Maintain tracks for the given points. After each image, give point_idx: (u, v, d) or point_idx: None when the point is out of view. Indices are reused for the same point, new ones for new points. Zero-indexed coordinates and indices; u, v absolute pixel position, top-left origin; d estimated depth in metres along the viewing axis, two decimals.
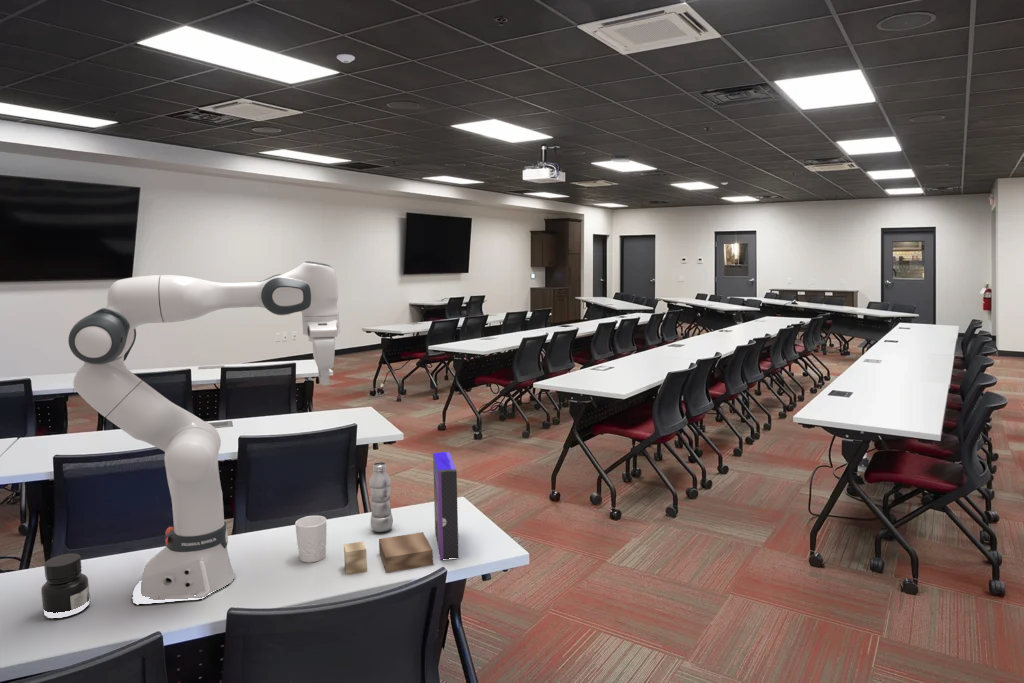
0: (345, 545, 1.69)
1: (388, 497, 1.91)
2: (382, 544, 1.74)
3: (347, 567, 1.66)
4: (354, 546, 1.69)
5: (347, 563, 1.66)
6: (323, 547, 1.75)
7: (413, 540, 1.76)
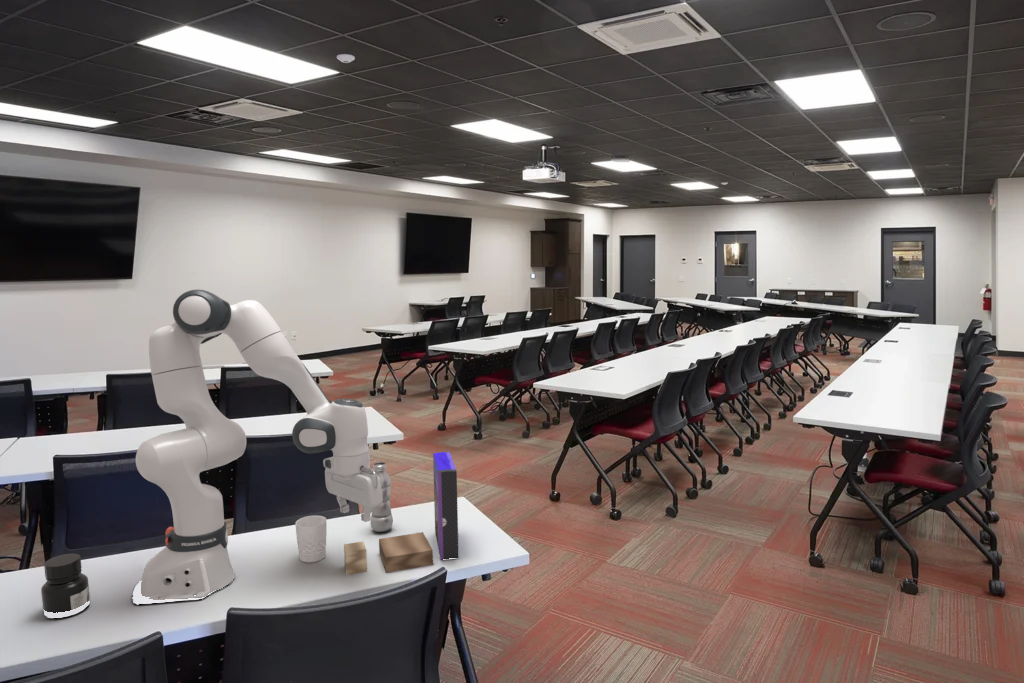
0: (345, 545, 1.69)
1: (388, 497, 1.91)
2: (382, 544, 1.74)
3: (347, 567, 1.66)
4: (354, 546, 1.69)
5: (347, 563, 1.66)
6: (323, 547, 1.75)
7: (413, 540, 1.76)
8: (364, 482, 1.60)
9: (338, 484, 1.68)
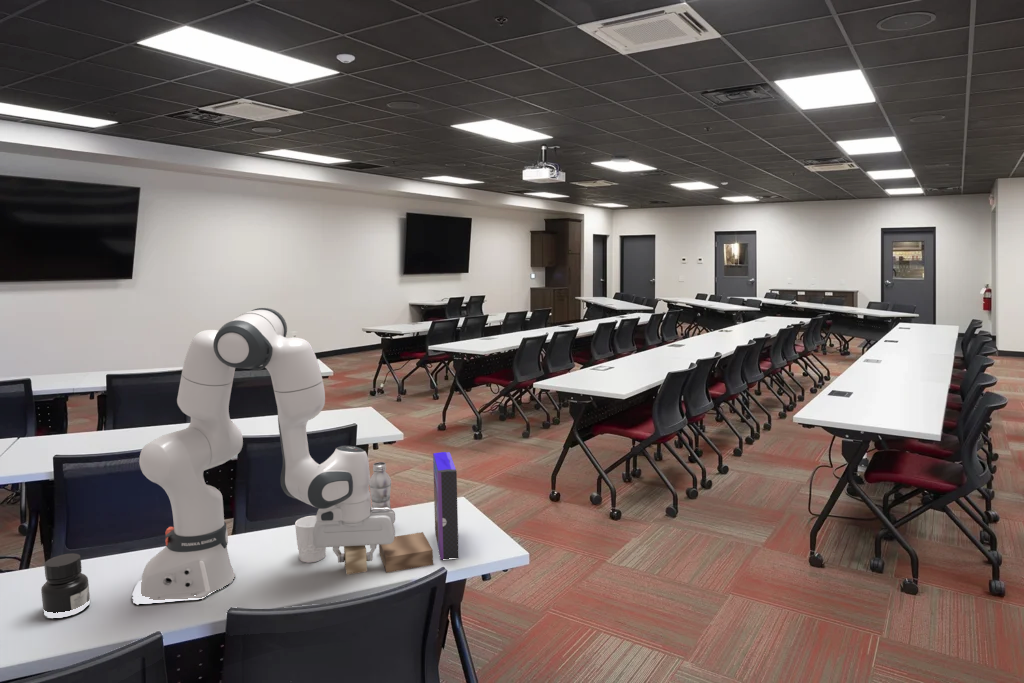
0: None
1: (388, 497, 1.91)
2: (382, 544, 1.74)
3: (347, 567, 1.66)
4: (354, 546, 1.69)
5: (347, 563, 1.66)
6: (323, 547, 1.75)
7: (413, 540, 1.76)
8: (383, 521, 1.66)
9: (336, 534, 1.66)
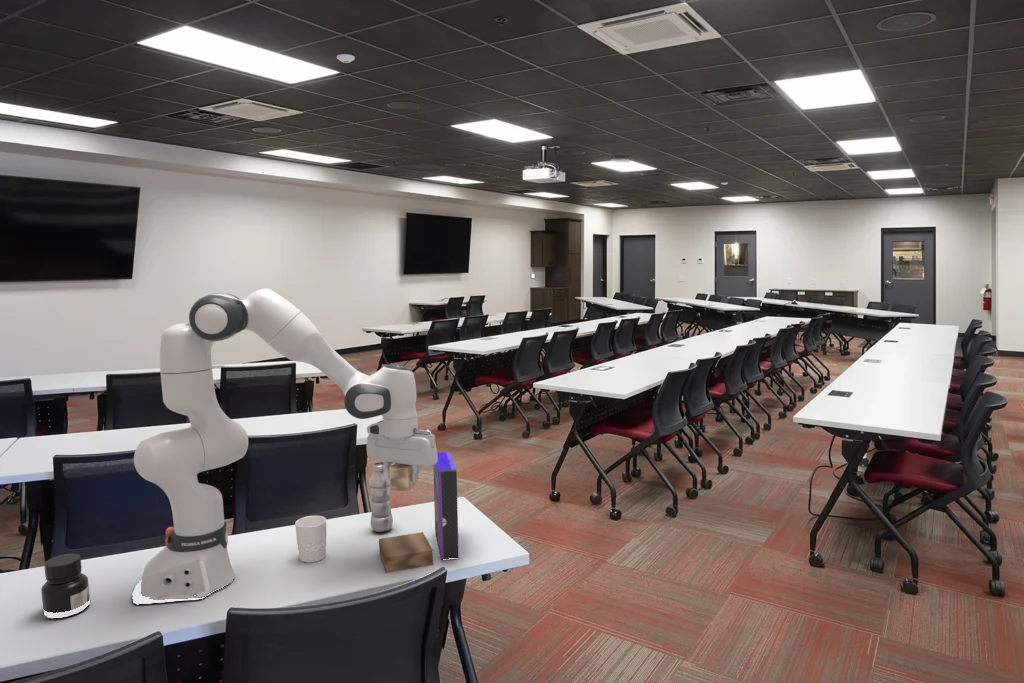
0: None
1: (388, 497, 1.91)
2: (382, 544, 1.74)
3: (391, 482, 1.70)
4: (401, 464, 1.71)
5: (390, 478, 1.70)
6: (323, 547, 1.75)
7: (413, 540, 1.76)
8: (421, 443, 1.65)
9: (384, 449, 1.71)
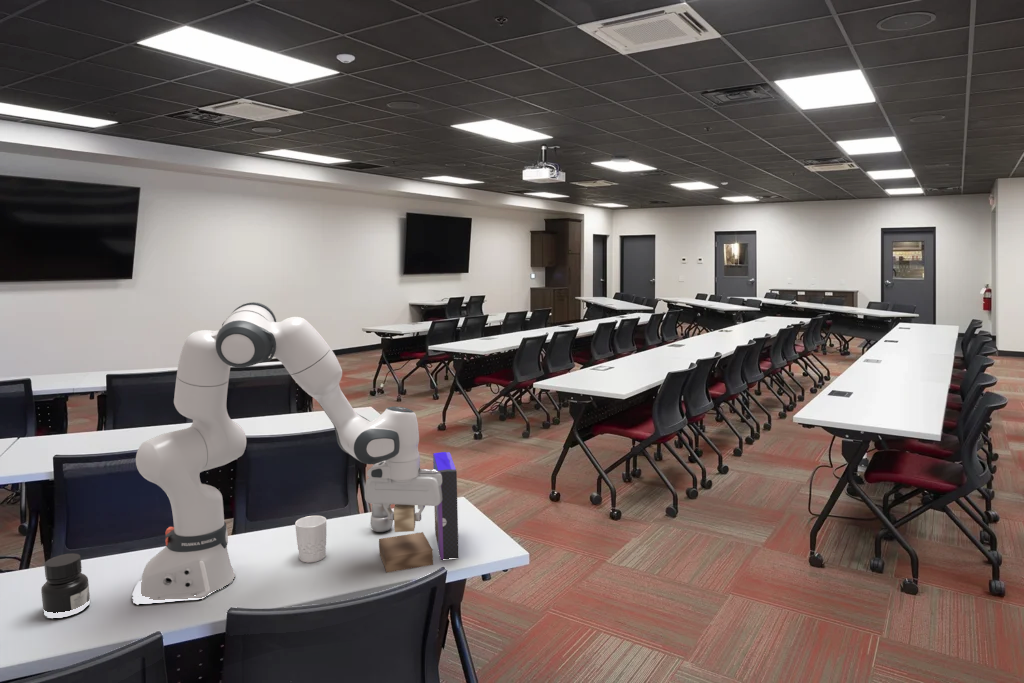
0: None
1: None
2: (382, 544, 1.74)
3: (395, 524, 1.70)
4: (403, 505, 1.72)
5: (395, 520, 1.70)
6: (323, 547, 1.75)
7: (413, 540, 1.76)
8: (430, 483, 1.69)
9: (385, 492, 1.71)
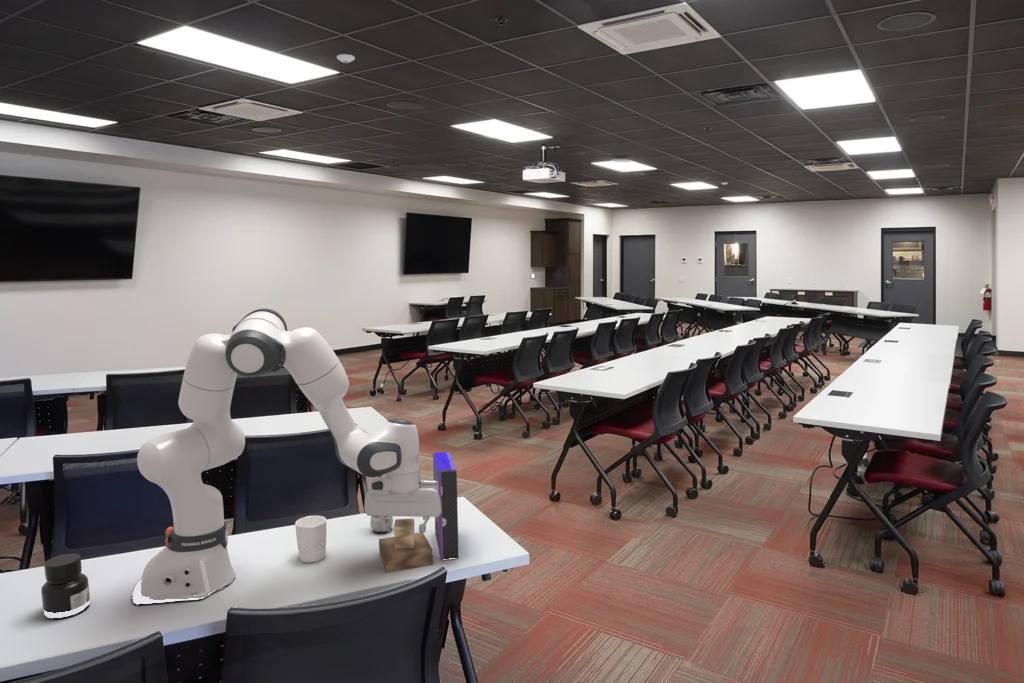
0: (396, 520, 1.74)
1: None
2: (382, 544, 1.74)
3: (395, 541, 1.71)
4: (403, 522, 1.73)
5: (395, 538, 1.71)
6: (323, 547, 1.75)
7: None
8: (431, 494, 1.70)
9: (386, 504, 1.71)
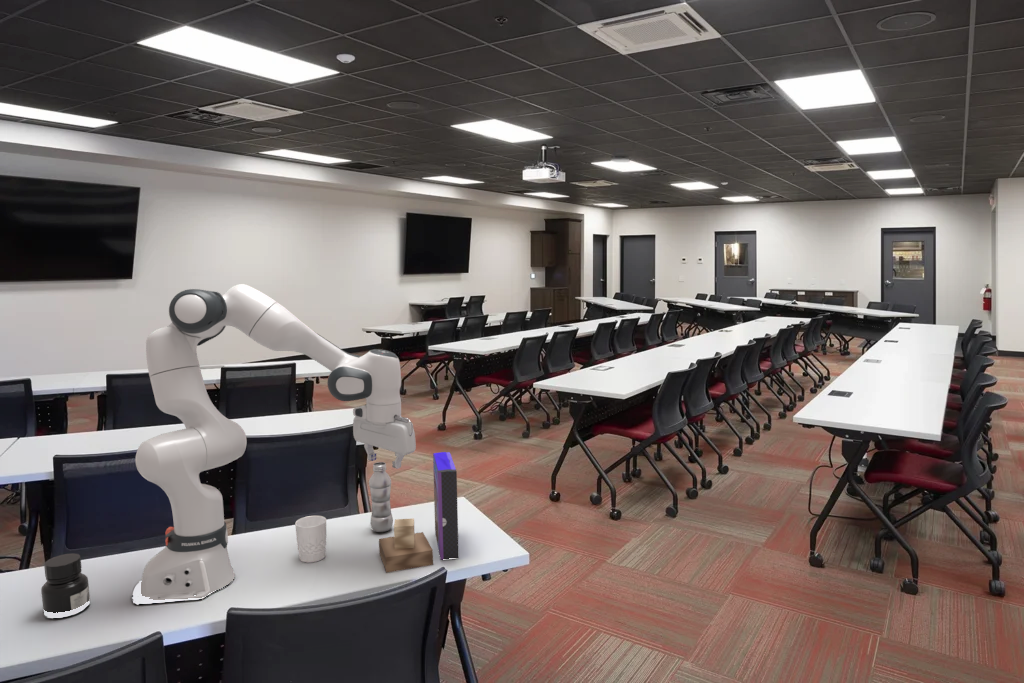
0: (396, 520, 1.74)
1: (388, 497, 1.91)
2: (382, 544, 1.74)
3: (395, 541, 1.71)
4: (403, 522, 1.73)
5: (395, 538, 1.71)
6: (323, 547, 1.75)
7: None
8: (399, 430, 1.66)
9: (367, 432, 1.73)
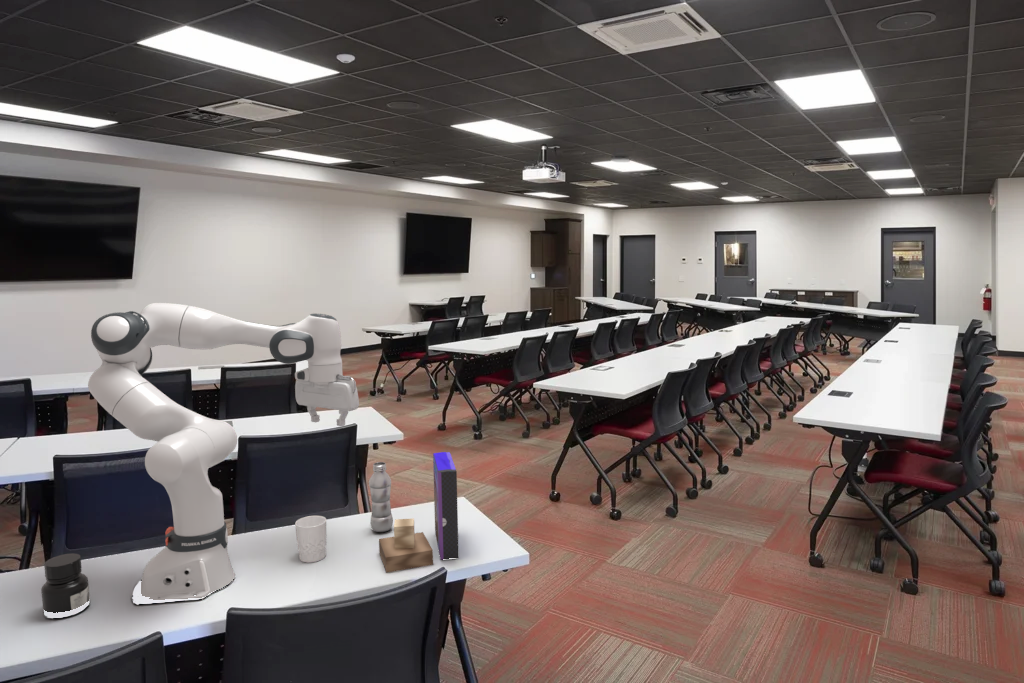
0: (396, 520, 1.74)
1: (388, 497, 1.91)
2: (382, 544, 1.74)
3: (395, 541, 1.71)
4: (403, 522, 1.73)
5: (395, 538, 1.71)
6: (323, 547, 1.75)
7: None
8: (342, 388, 1.74)
9: (310, 394, 1.80)
